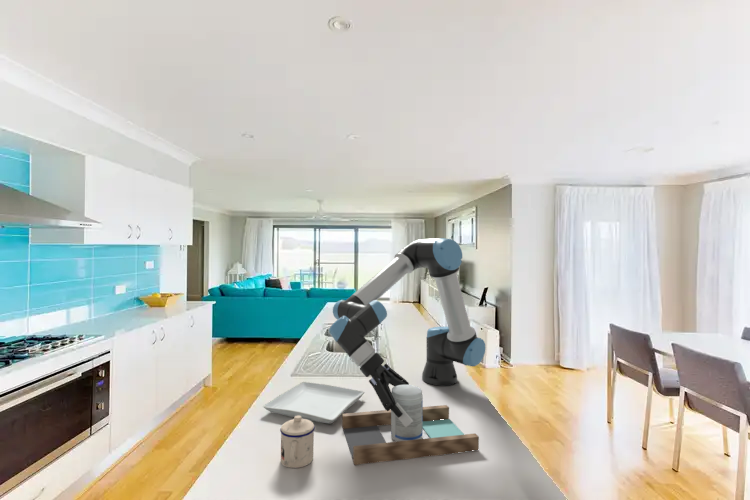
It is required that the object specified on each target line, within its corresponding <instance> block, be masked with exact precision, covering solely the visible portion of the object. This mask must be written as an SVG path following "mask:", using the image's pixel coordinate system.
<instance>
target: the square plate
mask: <svg viewBox="0 0 750 500" xmlns="http://www.w3.org/2000/svg"><path fill="white" fill-rule="evenodd" d="M364 394H365V391H363V390H358V389H352V388H346V387H342V386H337V385H331V384H324V383H316V382H309V381H308V382H307V381H302V382H299V384H297V385H295V386H292V387H290V389H287V390H286V391H284V392H283V393H281V394H279V395H277V396H276V397H275V398H273V399H272V400H269V401H268V402H267V403H265V404H264V405H263V406H262V408H264V409H265V410H267V411H268V412H270V413H274V414H277V415H283V416H286V417H292V418H294V417H295V416H298V415H299V416H301V417H302V419H307V420H310V421H311V422H315V423H316V422H317V423H323V424H324V423H325V424H333V423H334V422H335V421H337V420H338V419H339V418H340V416H342V414H345V412H346V411H347V410H348V409H349V408H350V407H352V406H353V405H355V404H356V403H357V402H358V401H359V400H360V399H361V397H362V396H363V395H364Z"/></svg>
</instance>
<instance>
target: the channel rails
mask: <svg viewBox="0 0 750 500" xmlns="http://www.w3.org/2000/svg"><path fill="white" fill-rule="evenodd" d="M341 416H342V420H341V426H342V429H347V428H358V427H369V426H378V427H379V426H389V425H390V426H391V409H390V410H389V411H387V410H385V409H383V410H372V411H371V410H370V411H359V412H348V413H345V412H344V413H343V414H342V415H341ZM440 419H450V407H449V406H448V405H447V404H443V405H432V406H431V405H430V406H429V405H428V406H423V421H433V420H440ZM464 434H465V433H464ZM479 438H480V437H479V435H478V434H476V433H467V434H465V435H456V436H446V437H436V438H430V437H427V438H422V439H417V440H407V441H398V442H396V441H389V442H386V443H379V444H369V445H359V446H353V459H352V462H353V464H354V466H359V465H365V464H366V465H367V464H376V463H383V462H391V461H401V460H410V459H418V458H427V457H435V456H436V457H437V456H445V455H444V454H446V455H452V453H454V454H459V453H458V452H463V453H466V452H465V451H472V450H478V449H479V446H480V445H479V444H480V442H479V441H480V439H479ZM479 450H480V449H479ZM472 452H473V451H472Z"/></svg>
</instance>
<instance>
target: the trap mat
mask: <svg viewBox="0 0 750 500" xmlns="http://www.w3.org/2000/svg"><path fill="white" fill-rule="evenodd" d="M342 429H343V428H342ZM343 434H344V437H345V439H346V443H347V446H348V449H349V452H350V455H351V458H352V460H353V446H359V445H369V444H379V443H387V442H386V440H385V438H384V436H383V433H382V432H381V430H380V428H379V426H369V427H358V428H347V429H343Z"/></svg>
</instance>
